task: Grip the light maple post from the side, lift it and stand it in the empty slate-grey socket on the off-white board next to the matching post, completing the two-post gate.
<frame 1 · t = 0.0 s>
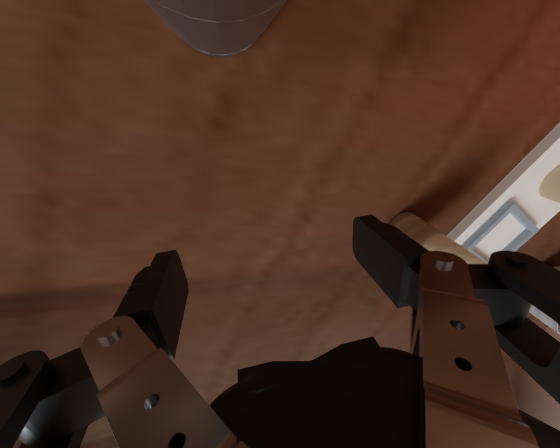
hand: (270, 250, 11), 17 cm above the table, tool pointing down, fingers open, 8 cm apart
maple post: (401, 227, 35), on the table
teacup: (539, 282, 49), on the table
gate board: (514, 205, 37), on the table
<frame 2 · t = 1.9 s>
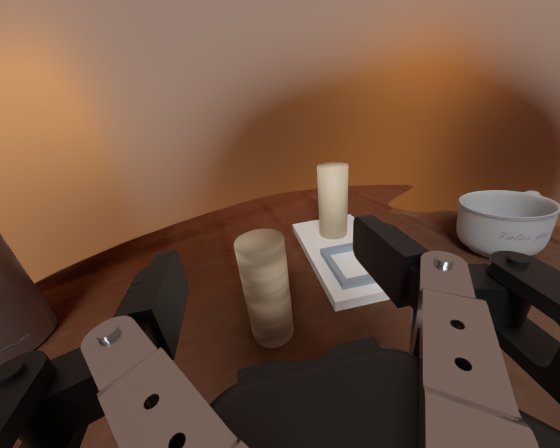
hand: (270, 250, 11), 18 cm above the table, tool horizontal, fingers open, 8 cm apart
maple post: (273, 329, 29), on the table
teacup: (498, 247, 39), on the table
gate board: (344, 254, 41), on the table
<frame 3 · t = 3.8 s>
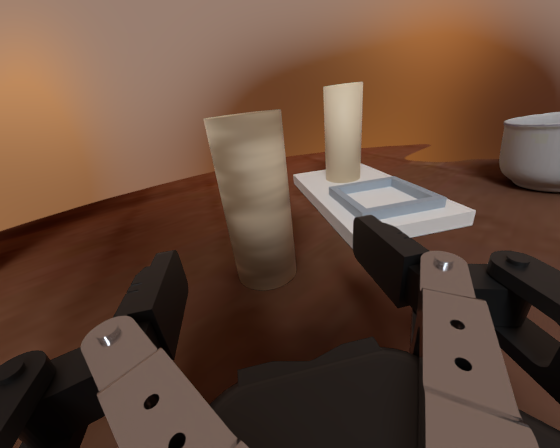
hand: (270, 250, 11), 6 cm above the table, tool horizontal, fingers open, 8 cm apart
maple post: (267, 270, 21), on the table
teacup: (555, 184, 31), on the table
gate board: (358, 198, 33), on the table
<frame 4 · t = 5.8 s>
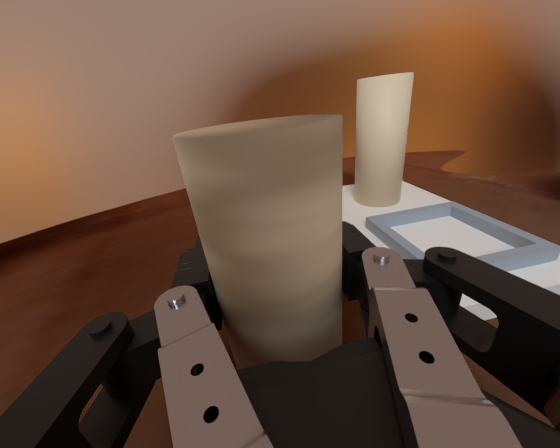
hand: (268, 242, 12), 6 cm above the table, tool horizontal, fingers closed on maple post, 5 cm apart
maple post: (292, 380, 13), on the table, touching gripper
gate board: (402, 230, 25), on the table
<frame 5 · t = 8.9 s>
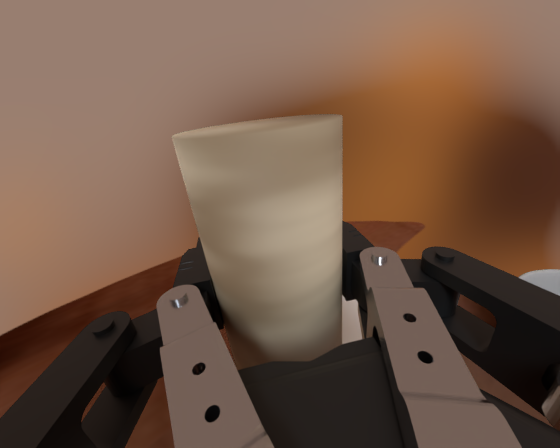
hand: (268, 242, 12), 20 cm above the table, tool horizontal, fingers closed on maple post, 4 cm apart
maple post: (292, 381, 13), point 13 cm above the table, touching gripper
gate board: (335, 367, 27), on the table
when the fingers open (9 cm above the table, at t = 11.9 s): maple post drops 1 cm, resting on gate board.
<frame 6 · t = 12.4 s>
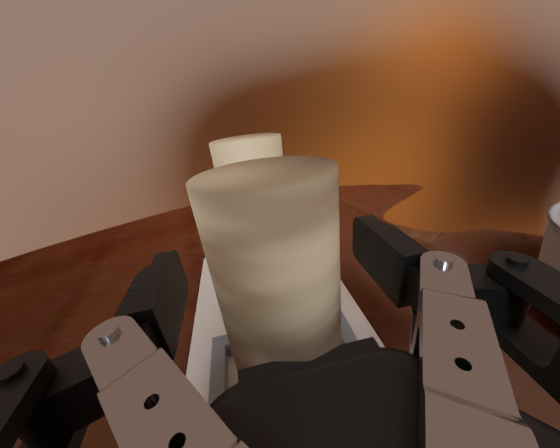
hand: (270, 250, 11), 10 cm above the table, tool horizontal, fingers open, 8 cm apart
maple post: (295, 399, 13), point 2 cm above the table, touching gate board
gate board: (280, 340, 18), on the table
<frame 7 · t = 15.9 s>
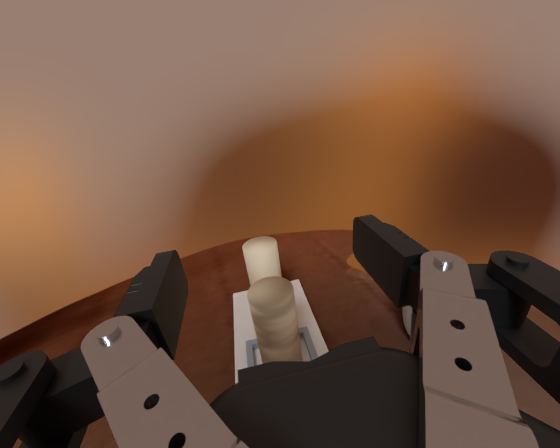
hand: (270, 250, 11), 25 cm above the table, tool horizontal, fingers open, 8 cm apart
maple post: (283, 367, 31), point 1 cm above the table, touching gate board
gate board: (278, 342, 36), on the table
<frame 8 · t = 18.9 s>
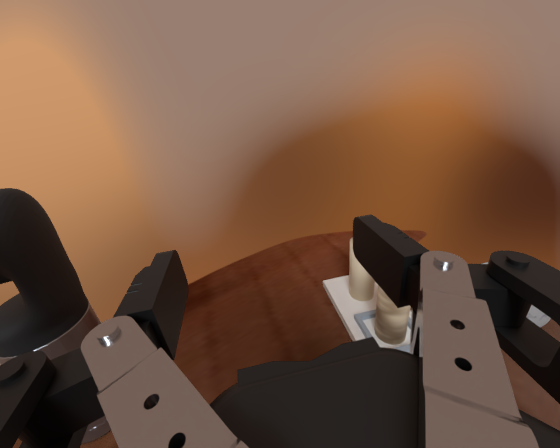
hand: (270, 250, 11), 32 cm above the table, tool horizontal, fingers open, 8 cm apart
maple post: (389, 332, 42), point 1 cm above the table, touching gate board
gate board: (373, 316, 47), on the table
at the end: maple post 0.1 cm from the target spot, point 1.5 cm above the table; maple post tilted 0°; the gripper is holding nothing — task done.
